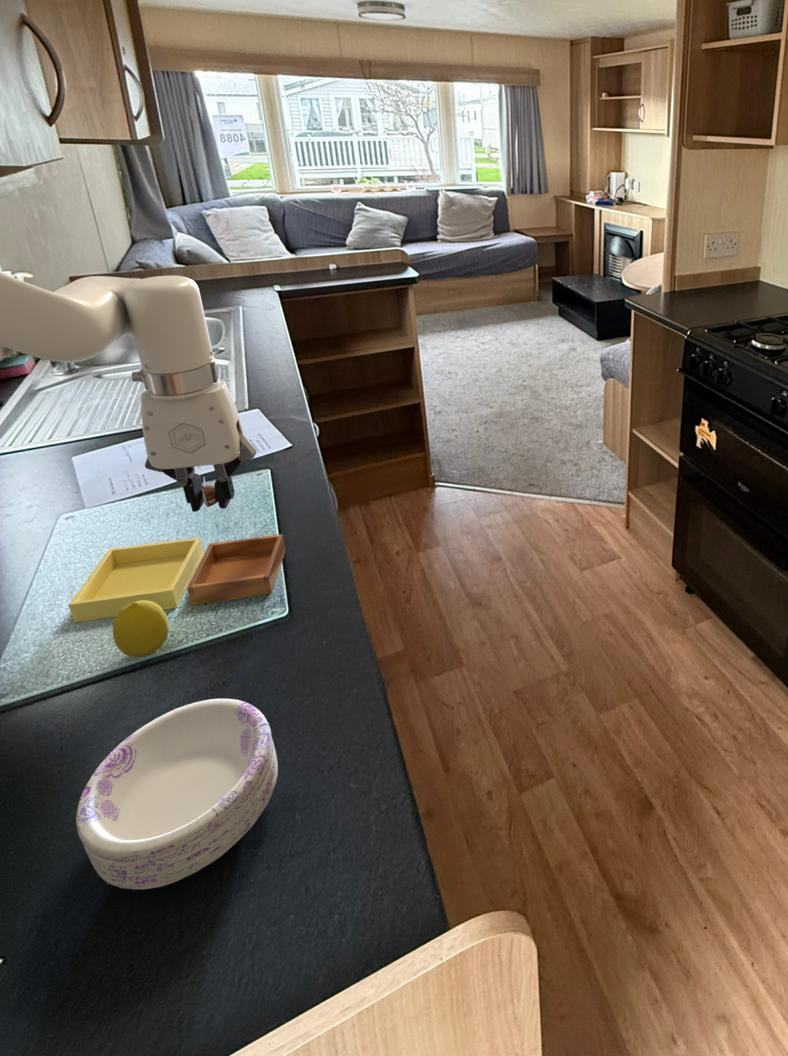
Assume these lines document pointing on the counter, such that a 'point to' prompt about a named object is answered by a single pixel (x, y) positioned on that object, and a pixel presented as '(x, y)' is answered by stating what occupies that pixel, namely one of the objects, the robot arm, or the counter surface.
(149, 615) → the lemon
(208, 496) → the chocolate
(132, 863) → the paper bowls
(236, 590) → the brown bin
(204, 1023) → the counter surface
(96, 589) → the yellow bin
